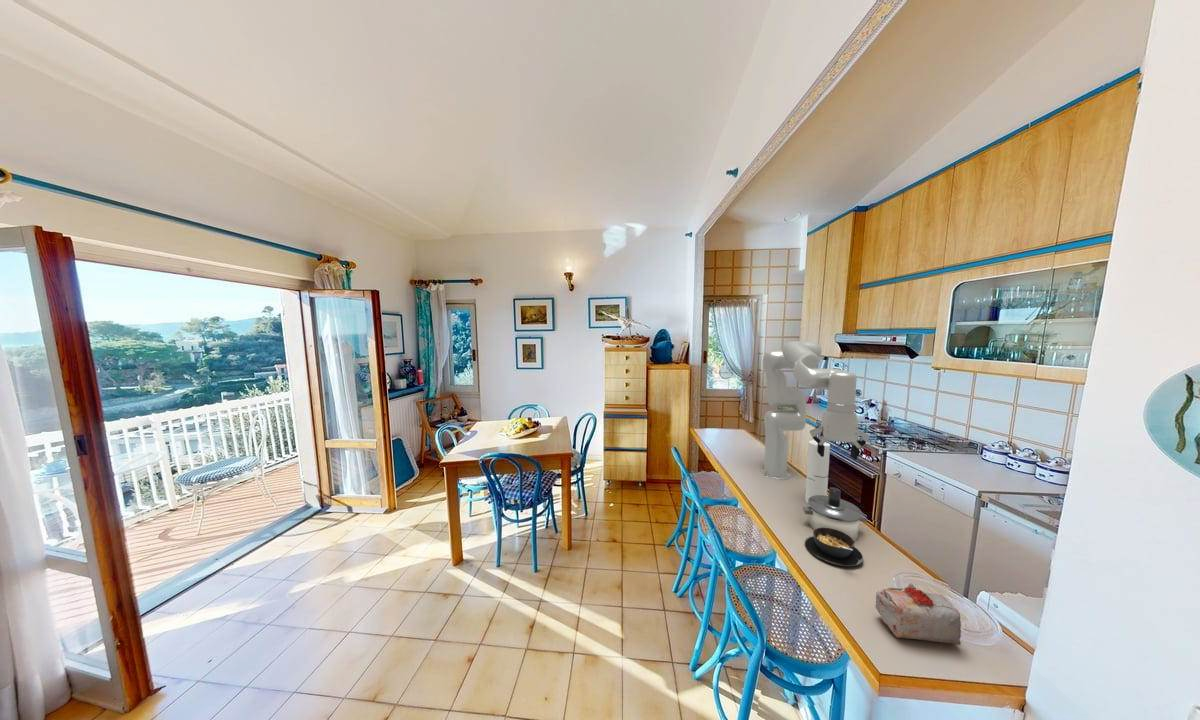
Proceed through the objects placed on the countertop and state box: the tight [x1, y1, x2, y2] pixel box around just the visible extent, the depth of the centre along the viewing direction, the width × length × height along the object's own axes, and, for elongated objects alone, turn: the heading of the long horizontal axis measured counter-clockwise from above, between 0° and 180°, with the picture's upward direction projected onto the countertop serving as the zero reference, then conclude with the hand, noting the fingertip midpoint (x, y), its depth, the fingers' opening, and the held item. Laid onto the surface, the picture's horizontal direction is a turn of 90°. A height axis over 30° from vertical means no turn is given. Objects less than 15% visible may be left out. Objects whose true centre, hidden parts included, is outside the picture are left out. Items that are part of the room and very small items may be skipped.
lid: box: [807, 486, 863, 522], centre depth 115 cm, size 15×15×7 cm
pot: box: [802, 505, 868, 542], centre depth 116 cm, size 14×18×7 cm
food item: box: [874, 583, 962, 646], centre depth 77 cm, size 14×8×10 cm, turn 81°
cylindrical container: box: [804, 439, 831, 504], centre depth 132 cm, size 7×7×25 cm
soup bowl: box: [804, 528, 864, 567], centre depth 103 cm, size 15×16×7 cm
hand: (837, 456), depth 114 cm, fingers open, 9 cm apart
